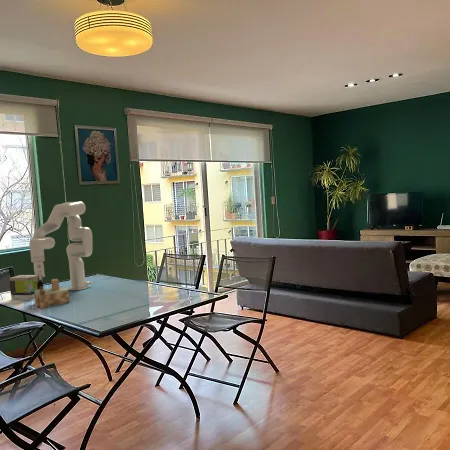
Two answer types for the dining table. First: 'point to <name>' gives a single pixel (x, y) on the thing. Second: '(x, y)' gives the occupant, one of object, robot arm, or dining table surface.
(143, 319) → the dining table surface
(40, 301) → the open wooden box
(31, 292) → the tea box
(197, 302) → the dining table surface
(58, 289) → the lid
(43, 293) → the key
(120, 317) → the dining table surface
